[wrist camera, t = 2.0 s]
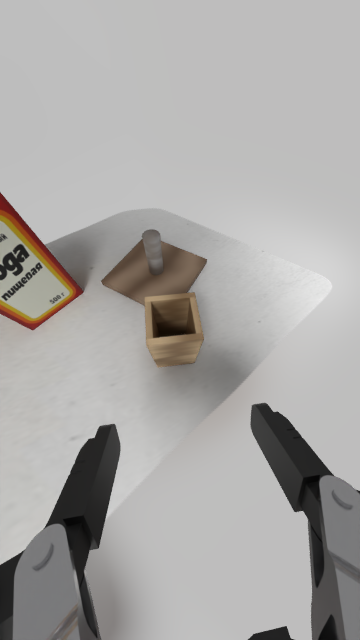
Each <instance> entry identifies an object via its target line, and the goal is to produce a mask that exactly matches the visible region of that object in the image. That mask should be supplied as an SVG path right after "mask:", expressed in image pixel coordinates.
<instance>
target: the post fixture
mask: <svg viewBox="0 0 360 640" xmlns="http://www.w3.org/2000/svg"><path fill="white" fill-rule="evenodd" d="M142 238H143V239H142V240H141V241H140V242H139V243H138V244H137V245H136V246H135V247H134V248H133V249H132V250H131V251H130V252H129V253H128V254H127V255H126V256H125V257H124V258H123V259H122V260H121V261H120V262H119V263H118V264H117V265H116V266H115V267H114V268H113V270H112V271H111V272H110V273H109V274H108V275H107V276H106V277H105V278H104V279H103V280H102V281H101V282H102V283H103V285H105V286H107V287H109V288H111V289H113V290H115V291H117V292H119V293H121V294H123V295H125V296H127V297H129V298H131V299H133V300H135V301H137V302H139V303H141V304H143V305H145V297H151V296H161V295H172V294H182V293H187V292H188V291H189V289H190V288H191V286H192V284H193V283H194V281H195V280H196V278H197V277H198V275H199V274H200V272H201V271H202V269H203V268H204V266H205V264H206V262H207V259H205V258H202V257H200V256H197V255H195V254H192V253H190V252H187V251H185V250H182V249H180V248H177V247H175V246H172V245H170V244H167V243H165V242H162V241H161V240H160V233H159V232H158V231H156V230H147V231H145V232H144V233H143V234H142Z"/></svg>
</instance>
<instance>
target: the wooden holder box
mask: <svg viewBox="0 0 360 640" xmlns="http://www.w3.org/2000/svg"><path fill="white" fill-rule="evenodd" d="M145 321H146V346H147V347H148V349H149V351H150V353H151V355H152V357H153V359H154V361H155V363H156V365H157V367H166V366H174V365H182V364H190V363H194V362H195V360H196V357H197V355H198V352H199V350H200V347H201V345H202V342H203V340H204V336H203V331H202V327H201V322H200V317H199V312H198V307H197V302H196V297H195V292H192V293H182V294H172V295H161V296H151V297H145ZM181 334H186V335H181ZM172 335H178V336H172ZM163 336H169V337H163ZM160 337H161V338H160Z"/></svg>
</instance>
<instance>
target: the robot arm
mask: <svg viewBox="0 0 360 640" xmlns="http://www.w3.org/2000/svg"><path fill="white" fill-rule="evenodd" d="M251 429H252V432H253V435H254V437H255V439H256V440H257V443H258V444H259V446H260V448H261V450H262V452H263V454H264V456H265V458H266V459H267V461H268V463H269V465H270V467H271V469H272V470H273V472H274V474H275V476H276V478H277V480H278V482H279V484H280V486H281V488H282V489H283V491H284V493H285V495H286V497H287V499H288V501H289V503H290V504H291V506H292V508H293V510H294V512H299V511H304V513H305V515H306V516H307V518H308V531H309V546H310V562H311V577H312V603H311V605H312V606H311V626H312V627H311V628H312V640H360V491H358V490H355V489H354V488H353V487H352V486H351V485H349V484H348V483H347V482H345V481H344V480H342V479H340V478H338V477H335V476H334V475H333V474H332V473H331V472H330V471H329V470H328V468H327V467H326V466H325V465H324V464H323V462H322V461H321V460H320V459H319V457H318V456H317V455H316V454H315V452H314V451H313V450H312V449H311V447H310V446H309V445H308V444H307V442H306V441H305V440H304V439H303V438H302V437H301V435H300V434H299V433H298V431H297V430H295V428H294V427H293V425H292V424H291V423H290V421H289V420H288V419H287V418H286V417H284V416H283V415H282V414H280V413H279V412H273V411H272V410H271V408H270V407H269V406H268V404H266V403H261V404H254V405H252V410H251ZM119 456H120V441H119V437H118V433H117V429H116V426H115V424H110V425H103V426H100V427H99V428H98V431H97V433H96V436H95V438H92V439H88V441H87V442H86V443H85V444H84V446H83V447H82V448H81V450H80V452H79V454H78V456H77V458H76V461H75V464H74V465H73V467H72V470H71V472H70V475H69V476H68V479H67V481H66V483H65V485H64V487H63V490H62V492H61V494H60V496H59V499H58V501H57V503H56V505H55V508H54V510H53V512H52V514H51V517H50V519H49V521H48V523H47V524H46V526H45V528H44V529H43V530H42V531H41V532H40V533H38V534H37V535H36V536H35V537H34V539H33V540H32V541H31V542H30V543H29V545H28V546H27V548H26V549H25V550H24V551H22V552H21V553H20V554H18V555H16V556H15V557H13V558H11V559H10V560H8V561H6V562H4V563H3V564H1V565H0V640H101V636H100V632H99V627H98V623H97V618H96V614H95V609H94V605H93V600H92V596H91V591H90V587H89V582H88V578H87V573H86V569H85V566H86V562H87V558H88V554H89V550H93V549H98V548H99V545H100V540H101V536H102V531H103V527H104V523H105V518H106V514H107V509H108V505H109V500H110V496H111V492H112V487H113V483H114V478H115V474H116V470H117V465H118V461H119ZM248 640H294V639H291V638H290V635H289V632H288V629H287V626H285V627H281V628H277V629H273V630H269V631H264V632H260V633H256V634H253V636H251V637H250V638H249V639H248Z"/></svg>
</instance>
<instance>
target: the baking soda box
mask: <svg viewBox="0 0 360 640" xmlns="http://www.w3.org/2000/svg"><path fill="white" fill-rule="evenodd" d="M82 293H83V291H82V289H81V288H80V287H79V286H78V285H77V283H76V282H75V281H74V280H73V279H72V277H71V276H70V275H69V274H68V273H67V272H66V270H65V269H64V268H63V267H62V266H61V264H60V263H59V262H58V261H57V260H56V258H55V257H54V256H53V255H52V254H51V252H50V251H49V250H48V249H47V248H46V246H45V245H44V244H43V243H42V242H41V240H40V239H39V238H38V237H37V236H36V234H35V233H34V232H33V231H32V230H31V228H30V227H29V226H28V225H27V224H26V223H25V221H24V220H23V219H22V218H21V216H20V215H19V214H18V213H17V212H16V211H15V209H14V208H13V207H12V206H11V205H10V203H9V202H8V201H7V200H6V199H5V197H4V196H3V195H2V194H1V193H0V314H2V315H4V316H6V317H8V318H10V319H12V320H13V321H15V322H17V323H19V324H21V325H23V326H25V327H27V328H29V329H31V330H34V329H35V328H37V327H38V326H39V325H41V324H42V323H43V322H45V321H46V320H47V319H49V318H50V317H51V316H53V315H54V314H55V313H57V312H58V311H59V310H61V309H62V308H63V307H65V306H66V305H67V304H69V303H70V302H71V301H73V300H74V299H75V298H77V297H78V296H79V295H81V294H82Z"/></svg>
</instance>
